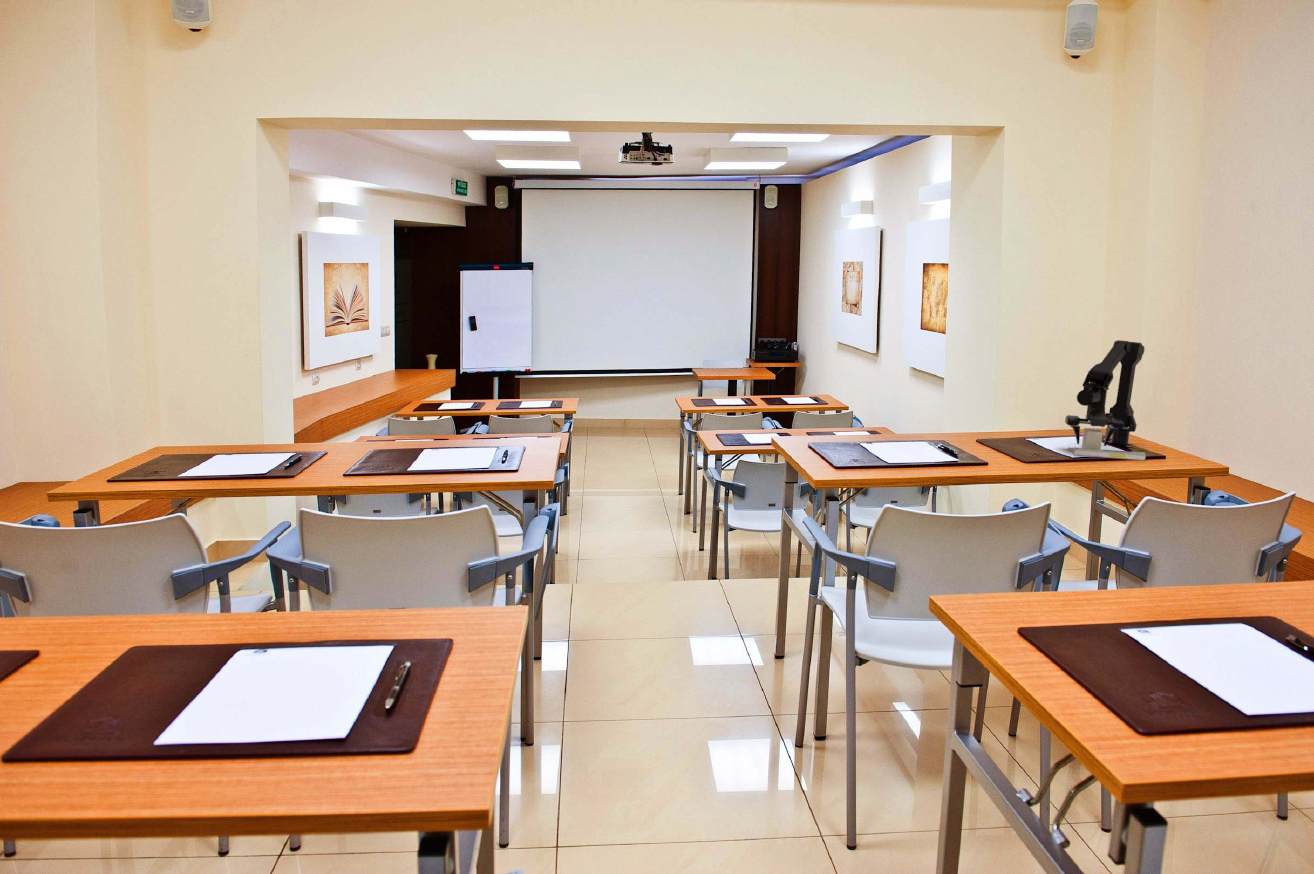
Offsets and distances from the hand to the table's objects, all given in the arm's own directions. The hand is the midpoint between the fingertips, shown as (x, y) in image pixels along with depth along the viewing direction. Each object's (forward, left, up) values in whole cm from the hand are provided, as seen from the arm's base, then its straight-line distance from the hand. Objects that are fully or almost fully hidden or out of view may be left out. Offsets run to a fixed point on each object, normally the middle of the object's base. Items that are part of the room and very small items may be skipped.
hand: (1091, 445), depth 332 cm
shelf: (+3, +4, -3) cm, 6 cm away
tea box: (0, 0, -2) cm, 2 cm away
